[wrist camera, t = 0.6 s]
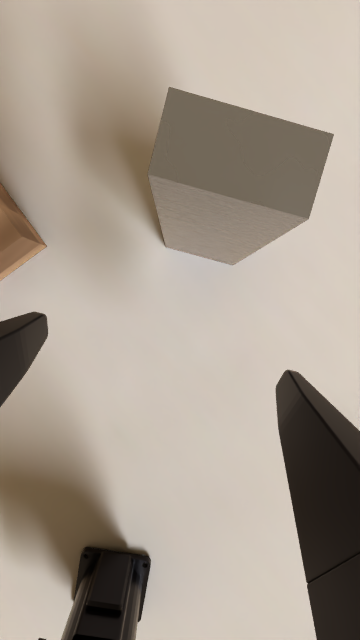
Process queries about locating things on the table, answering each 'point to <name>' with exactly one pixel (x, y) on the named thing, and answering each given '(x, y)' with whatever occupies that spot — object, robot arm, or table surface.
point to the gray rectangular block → (231, 176)
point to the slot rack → (15, 236)
